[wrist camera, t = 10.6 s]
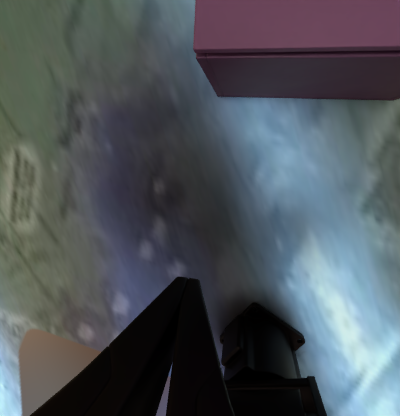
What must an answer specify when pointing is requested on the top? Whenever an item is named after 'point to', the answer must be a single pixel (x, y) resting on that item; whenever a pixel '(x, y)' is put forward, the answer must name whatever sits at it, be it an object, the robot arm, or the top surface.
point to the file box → (305, 74)
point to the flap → (296, 25)
